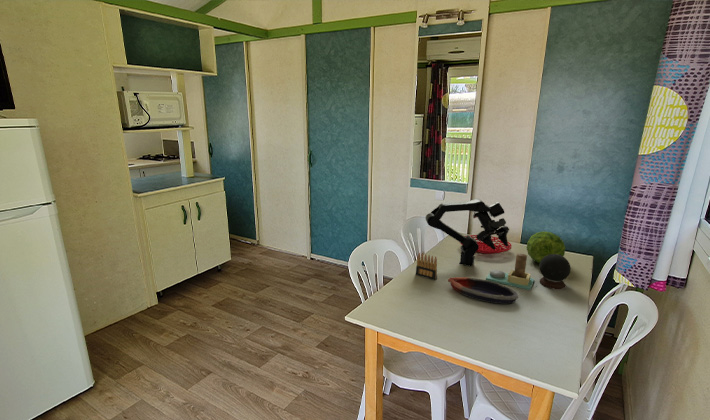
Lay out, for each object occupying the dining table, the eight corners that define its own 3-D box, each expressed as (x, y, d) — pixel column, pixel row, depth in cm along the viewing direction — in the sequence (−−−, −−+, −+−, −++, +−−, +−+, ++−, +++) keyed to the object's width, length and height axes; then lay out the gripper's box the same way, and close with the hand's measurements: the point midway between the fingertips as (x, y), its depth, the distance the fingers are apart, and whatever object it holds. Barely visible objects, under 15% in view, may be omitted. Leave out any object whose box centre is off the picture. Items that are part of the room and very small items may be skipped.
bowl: (504, 264, 203) (505, 255, 202) (452, 253, 219) (452, 245, 217) (515, 248, 227) (516, 240, 226) (467, 239, 243) (467, 232, 241)
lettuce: (566, 260, 210) (564, 228, 210) (566, 268, 189) (564, 232, 189) (529, 260, 219) (527, 229, 219) (526, 267, 199) (523, 233, 198)
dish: (512, 312, 154) (514, 301, 153) (442, 292, 171) (443, 282, 170) (521, 297, 167) (522, 287, 165) (454, 280, 184) (455, 270, 182)
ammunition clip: (436, 278, 184) (438, 256, 181) (435, 280, 183) (436, 257, 180) (417, 273, 190) (418, 251, 187) (415, 274, 189) (416, 252, 186)
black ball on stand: (536, 286, 177) (540, 256, 173) (537, 276, 188) (541, 248, 184) (568, 292, 171) (573, 262, 167) (567, 281, 182) (572, 252, 179)
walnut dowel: (512, 280, 180) (515, 255, 177) (514, 277, 184) (517, 252, 181) (522, 283, 178) (526, 257, 175) (524, 279, 182) (527, 254, 178)
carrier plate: (485, 279, 184) (486, 272, 183) (491, 271, 193) (492, 264, 192) (529, 290, 173) (531, 282, 172) (533, 280, 183) (534, 273, 182)
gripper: (483, 215, 184) (498, 243, 178) (508, 211, 193) (524, 237, 187) (469, 226, 193) (484, 253, 187) (494, 221, 202) (509, 247, 195)
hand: (501, 247), depth 189 cm, fingers open, 9 cm apart
